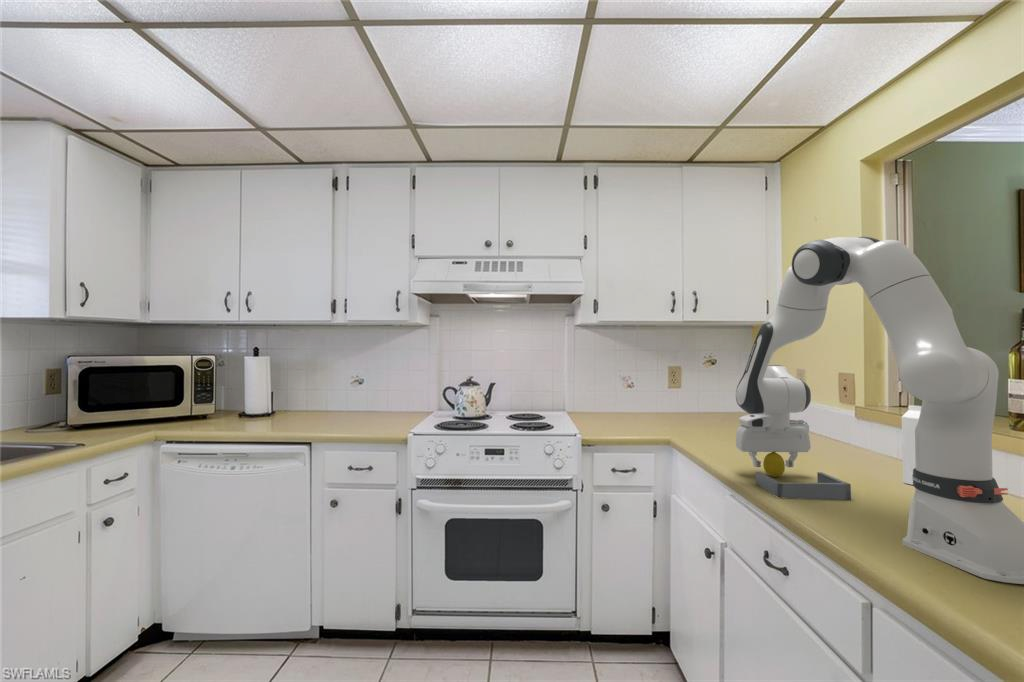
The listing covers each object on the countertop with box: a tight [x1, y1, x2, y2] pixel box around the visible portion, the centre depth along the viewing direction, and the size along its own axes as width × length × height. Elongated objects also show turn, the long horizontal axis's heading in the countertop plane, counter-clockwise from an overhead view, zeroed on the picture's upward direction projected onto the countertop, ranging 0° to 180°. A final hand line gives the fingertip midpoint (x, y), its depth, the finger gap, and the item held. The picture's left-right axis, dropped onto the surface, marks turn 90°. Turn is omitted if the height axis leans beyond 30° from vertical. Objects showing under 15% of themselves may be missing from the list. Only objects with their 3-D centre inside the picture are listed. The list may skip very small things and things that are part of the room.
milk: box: [901, 404, 922, 486], centre depth 133 cm, size 6×6×22 cm
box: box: [755, 471, 852, 501], centre depth 126 cm, size 12×18×4 cm, turn 87°
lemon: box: [763, 452, 786, 478], centre depth 140 cm, size 6×6×8 cm
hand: (773, 466), depth 140 cm, fingers open, 8 cm apart
